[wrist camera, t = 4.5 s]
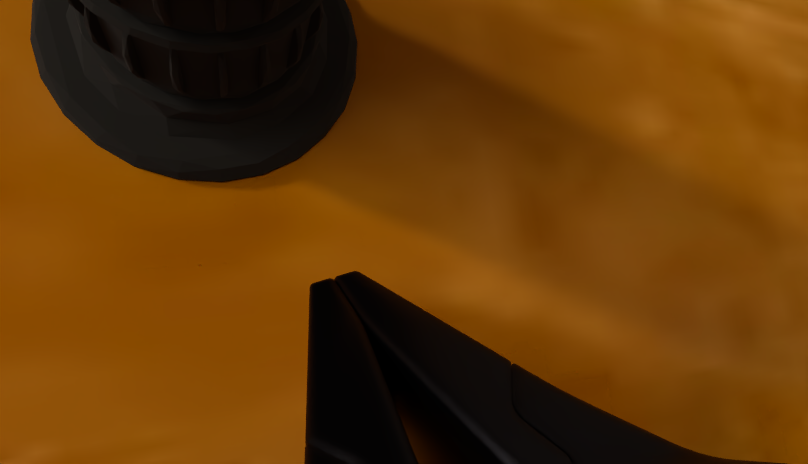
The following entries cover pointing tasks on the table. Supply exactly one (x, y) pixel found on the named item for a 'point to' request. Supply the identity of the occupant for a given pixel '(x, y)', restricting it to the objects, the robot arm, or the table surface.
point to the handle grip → (198, 78)
